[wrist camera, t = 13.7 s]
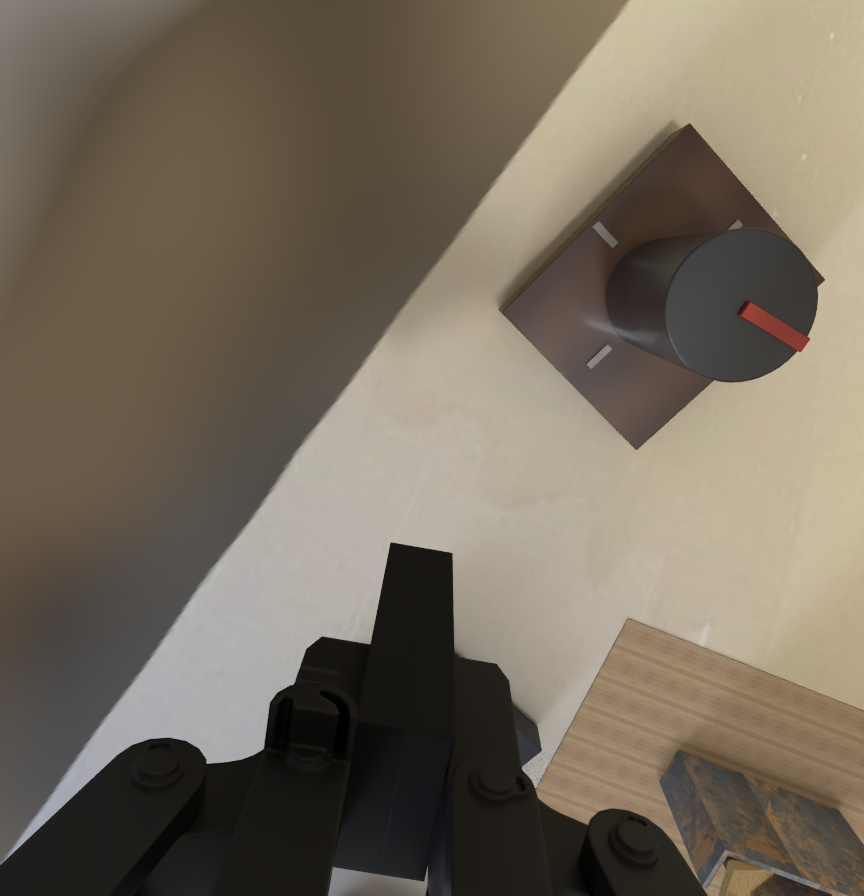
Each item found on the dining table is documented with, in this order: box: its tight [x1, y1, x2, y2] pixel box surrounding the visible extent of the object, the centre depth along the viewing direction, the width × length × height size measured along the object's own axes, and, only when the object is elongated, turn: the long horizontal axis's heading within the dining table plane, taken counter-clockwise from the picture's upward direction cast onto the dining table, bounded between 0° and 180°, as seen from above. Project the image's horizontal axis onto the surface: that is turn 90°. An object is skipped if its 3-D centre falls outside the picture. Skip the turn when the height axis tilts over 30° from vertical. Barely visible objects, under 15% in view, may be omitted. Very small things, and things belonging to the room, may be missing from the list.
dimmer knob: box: [607, 228, 818, 382], centre depth 29 cm, size 5×5×10 cm
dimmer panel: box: [499, 124, 825, 450], centre depth 35 cm, size 10×12×3 cm
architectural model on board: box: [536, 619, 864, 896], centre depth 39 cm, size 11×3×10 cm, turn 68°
